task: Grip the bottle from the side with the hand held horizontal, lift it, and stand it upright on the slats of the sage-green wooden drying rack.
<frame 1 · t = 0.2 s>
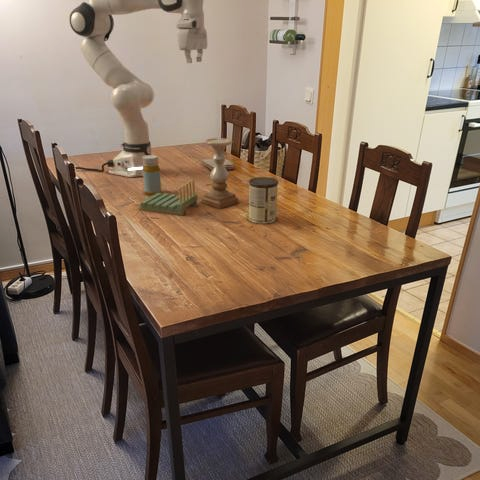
hand: (194, 62, 198), 48 cm above the table, tool pointing down, fingers open, 8 cm apart
bottle: (153, 193, 204), on the table
washcloth: (217, 167, 243), on the table
candle holder: (219, 203, 194), on the table
coffee can: (262, 219, 178), on the table
rack: (169, 207, 188), on the table
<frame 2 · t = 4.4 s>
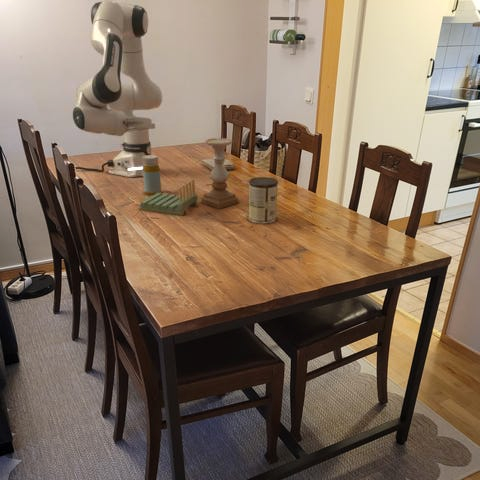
hand: (146, 127, 189), 27 cm above the table, tool horizontal, fingers open, 8 cm apart
nothing on the table moved.
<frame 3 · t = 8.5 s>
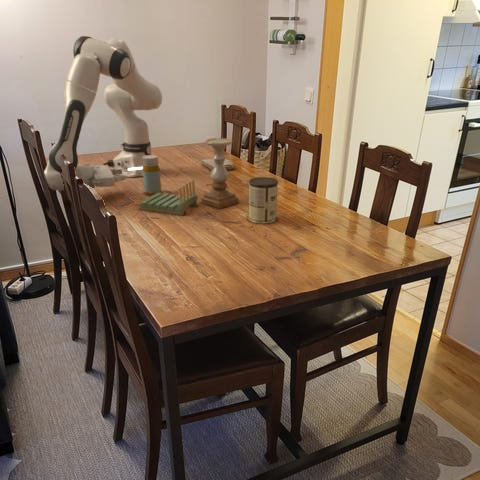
hand: (123, 174, 196), 9 cm above the table, tool horizontal, fingers open, 8 cm apart
nothing on the table moved.
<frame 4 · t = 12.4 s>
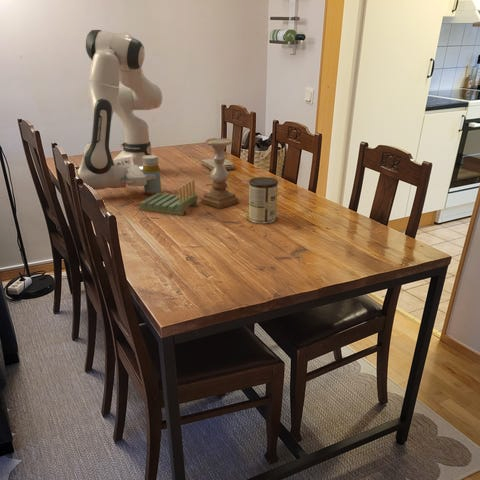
hand: (153, 173, 200), 8 cm above the table, tool horizontal, fingers closed on bottle, 5 cm apart
bottle: (153, 193, 204), on the table, touching gripper
everything else where it was.
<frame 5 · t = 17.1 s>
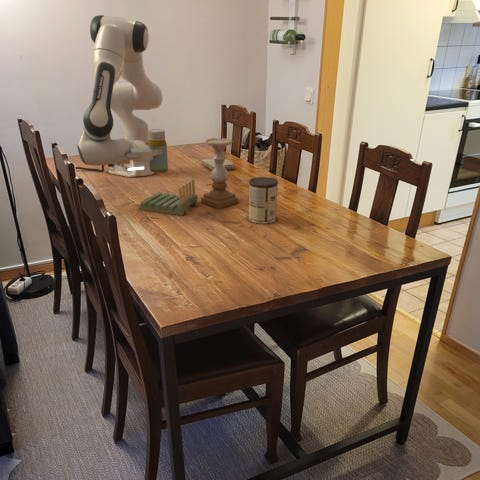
hand: (160, 149, 185), 20 cm above the table, tool horizontal, fingers closed on bottle, 5 cm apart
bottle: (159, 171, 189), point 12 cm above the table, touching gripper
everything else where it was.
when the fingers open (11 cm above the table, at t = 22.3 s): bottle stays where it is, resting on rack.
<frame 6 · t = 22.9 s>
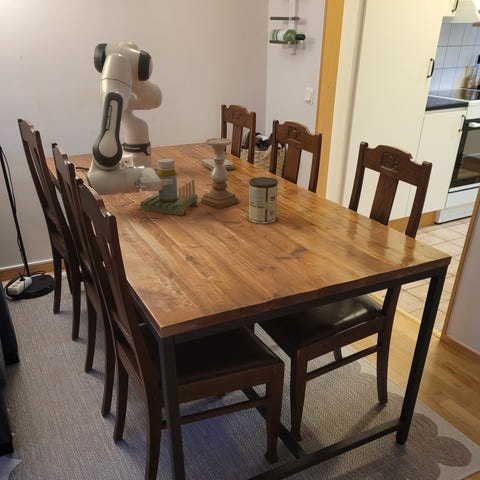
hand: (169, 177, 182), 11 cm above the table, tool horizontal, fingers open, 8 cm apart
bottle: (168, 200, 187), point 3 cm above the table, touching rack
everything else where it was.
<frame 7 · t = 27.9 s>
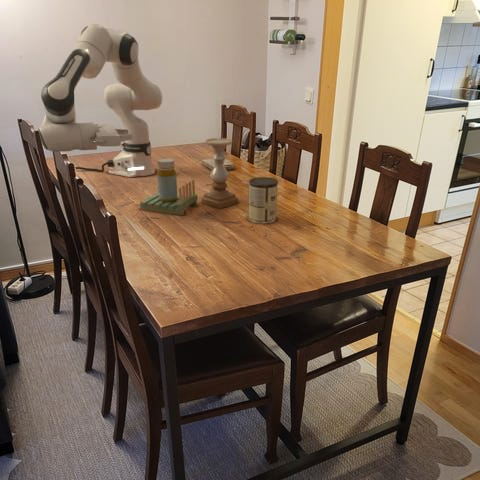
hand: (130, 134, 170), 28 cm above the table, tool horizontal, fingers open, 8 cm apart
nothing on the table moved.
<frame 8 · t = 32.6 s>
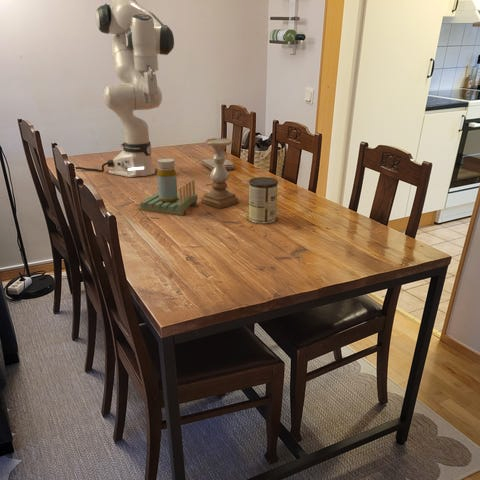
hand: (149, 105, 188), 34 cm above the table, tool pointing down, fingers open, 8 cm apart
nothing on the table moved.
at the end: bottle inside the target area on the rack (1.0 cm from its centre), point 2.8 cm above the rack's base; bottle tilted 0°; the gripper is holding nothing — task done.
